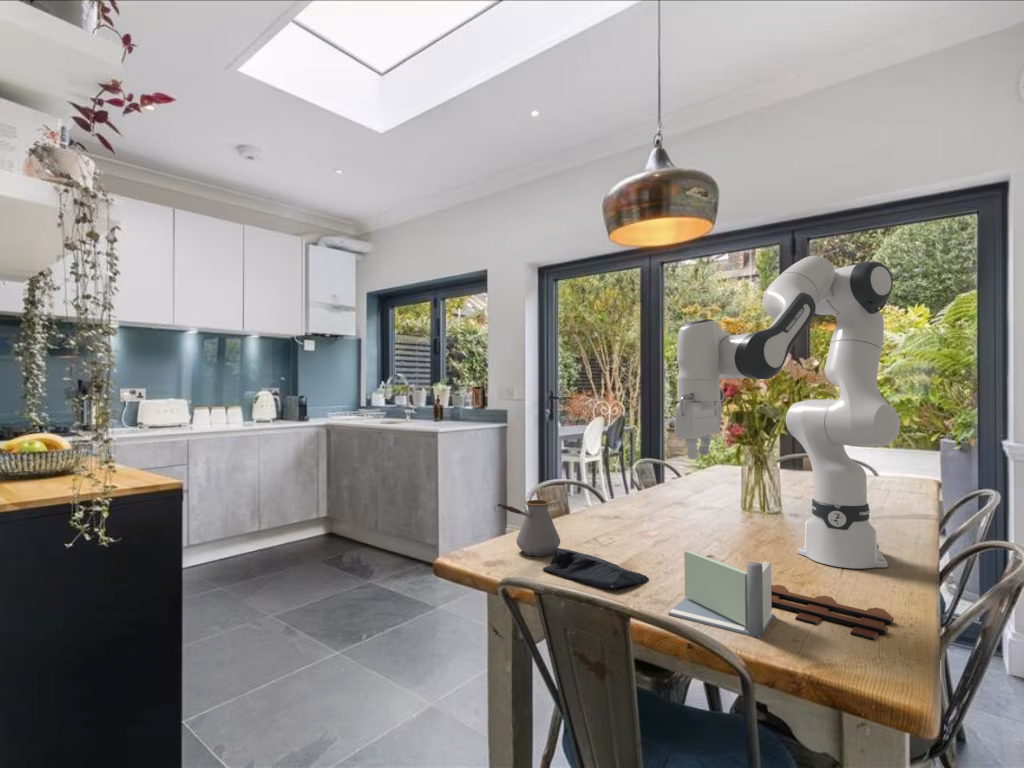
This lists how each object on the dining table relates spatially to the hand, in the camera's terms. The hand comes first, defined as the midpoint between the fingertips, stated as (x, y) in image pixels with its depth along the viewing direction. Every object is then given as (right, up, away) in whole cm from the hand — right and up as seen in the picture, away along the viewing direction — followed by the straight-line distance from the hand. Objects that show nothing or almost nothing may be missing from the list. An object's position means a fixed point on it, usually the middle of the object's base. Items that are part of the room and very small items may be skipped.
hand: (698, 456), depth 119 cm
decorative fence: (+17, -28, -16) cm, 36 cm away
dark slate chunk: (-22, -28, +5) cm, 36 cm away
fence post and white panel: (+3, -27, -22) cm, 35 cm away
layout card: (-2, -27, -18) cm, 32 cm away
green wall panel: (-3, -26, -18) cm, 32 cm away
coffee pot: (-37, -28, +18) cm, 50 cm away
